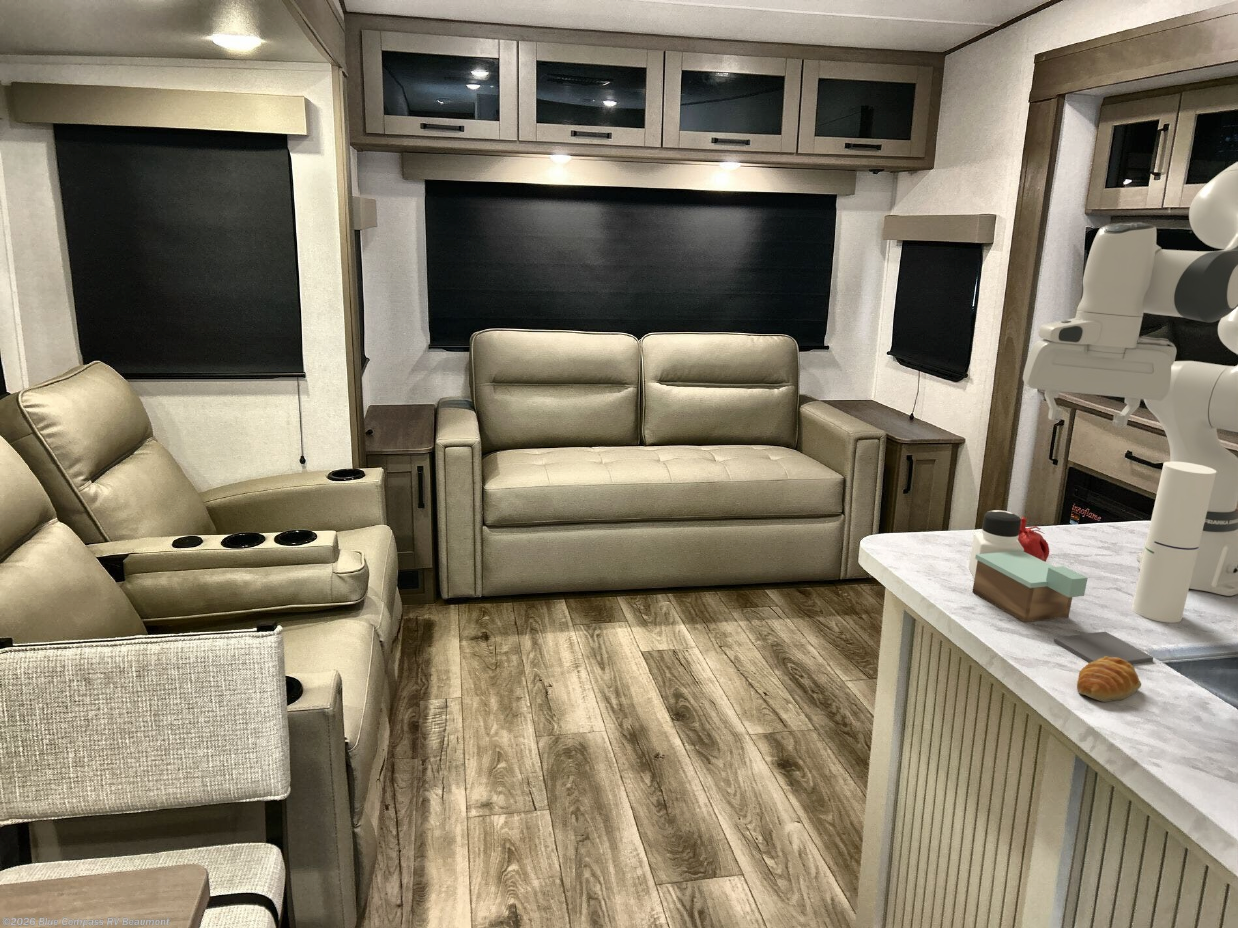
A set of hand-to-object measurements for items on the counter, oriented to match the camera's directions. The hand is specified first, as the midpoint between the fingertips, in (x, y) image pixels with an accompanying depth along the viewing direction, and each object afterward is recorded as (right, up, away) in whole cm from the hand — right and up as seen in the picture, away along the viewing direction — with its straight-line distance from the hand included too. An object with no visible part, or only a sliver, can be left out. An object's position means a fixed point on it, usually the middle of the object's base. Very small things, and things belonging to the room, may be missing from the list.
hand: (1086, 423), depth 137 cm
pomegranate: (+2, -25, +28) cm, 38 cm away
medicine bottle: (-5, -27, +22) cm, 35 cm away
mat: (0, -34, -5) cm, 34 cm away
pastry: (-6, -37, -16) cm, 41 cm away
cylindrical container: (+17, -31, +10) cm, 37 cm away
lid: (-5, -24, +7) cm, 26 cm away
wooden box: (-6, -30, +10) cm, 32 cm away
